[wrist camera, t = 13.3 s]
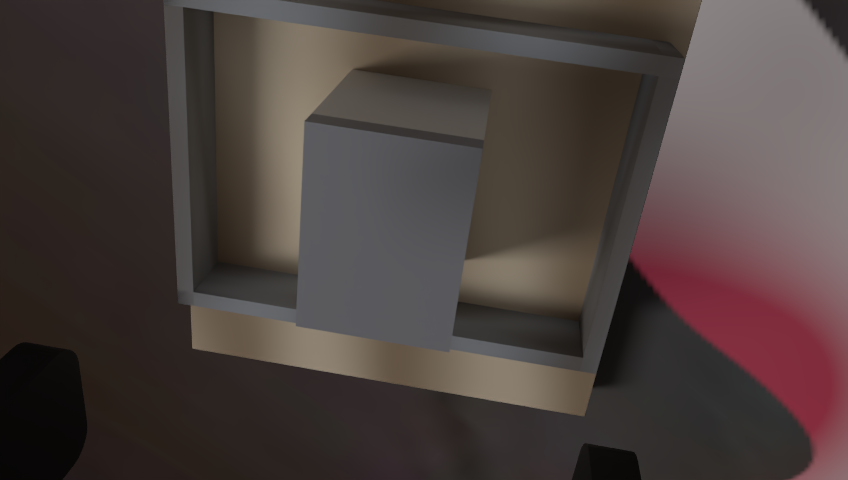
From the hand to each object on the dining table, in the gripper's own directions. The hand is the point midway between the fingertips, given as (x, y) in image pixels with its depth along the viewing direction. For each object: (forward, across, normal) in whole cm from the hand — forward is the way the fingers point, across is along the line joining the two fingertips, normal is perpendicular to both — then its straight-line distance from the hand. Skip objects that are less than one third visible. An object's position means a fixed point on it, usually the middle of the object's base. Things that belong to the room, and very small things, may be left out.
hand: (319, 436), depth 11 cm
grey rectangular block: (+12, 0, 0) cm, 12 cm away
